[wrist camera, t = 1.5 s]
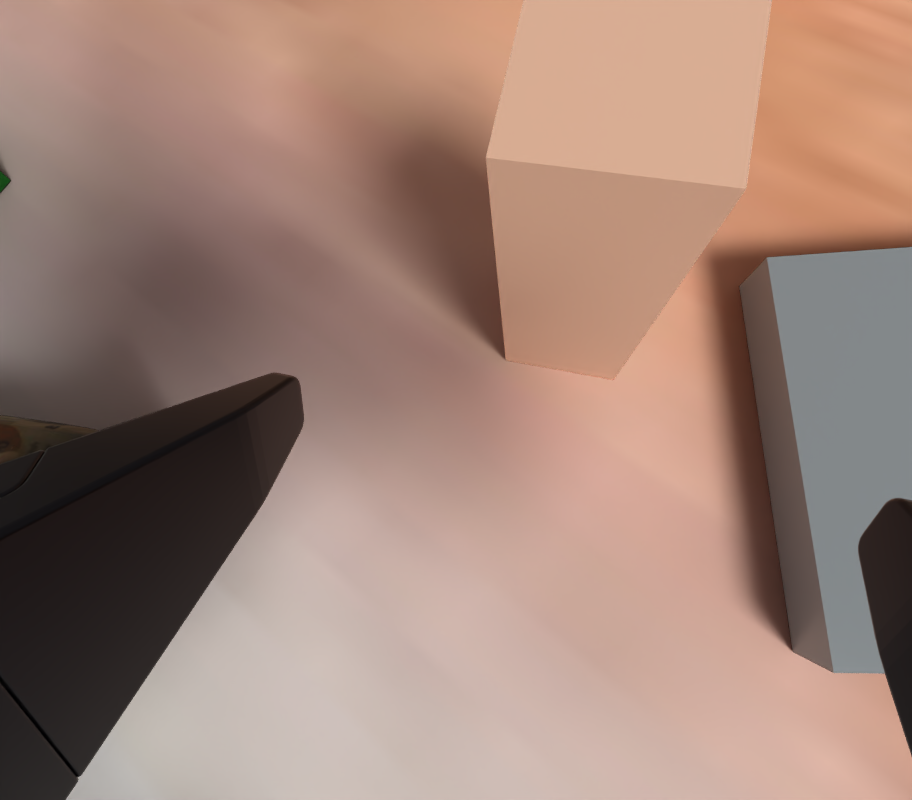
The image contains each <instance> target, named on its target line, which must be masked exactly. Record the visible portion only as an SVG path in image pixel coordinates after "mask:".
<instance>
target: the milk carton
mask: <svg viewBox="0 0 912 800" xmlns="http://www.w3.org/2000/svg"><path fill="white" fill-rule="evenodd" d="M9 182H10V179H9V178H8V177H6V176H5V175H4V174H3V173H2V172H1V171H0V192H1V191H2V190H3V189H4V188H5V186H6V185H7V184H8V183H9Z"/></svg>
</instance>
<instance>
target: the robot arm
mask: <svg viewBox="0 0 912 800" xmlns="http://www.w3.org/2000/svg"><path fill="white" fill-rule="evenodd" d="M303 422H304V413H303V404H302V396H301V387H300V383H299V380H298V379H297V378H296V377H294V376H290V375H285V374H281V373H270V374H267V375H264V376H261V377H258V378H255V379H252V380H249V381H246V382H243V383H240V384H237V385H234V386H231V387H228V388H225V389H222V390H219V391H216V392H213V393H210V394H207V395H204V396H201V397H198V398H195V399H192V400H189V401H186V402H183V403H181V404H178V405H175V406H172V407H169V408H166V409H163V410H160V411H157V412H154V413H151V414H148V415H145V416H142V417H139V418H136V419H133V420H130V421H127V422H124V423H121V424H118V425H115V426H112V427H109V428H106V429H103V430H100V431H97V432H94V433H91V434H88V435H85V436H82V437H79V438H76V439H73V440H70V441H67V442H64V443H61V444H58V445H55V446H52V447H49V448H48V449H47V450H46V451H43V450H40V451H37V452H34V453H31V454H28V455H25V456H22V457H19V458H16V459H13V460H10V461H7V462H4V463H1V464H0V800H66V798H67V797H68V795H69V794H70V792H71V791H72V789H73V788H74V786H75V785H76V783H77V782H78V777H79V776H81V775H82V774H83V772H84V771H85V769H86V768H87V766H88V765H89V763H90V762H91V760H92V759H93V757H94V756H95V754H96V753H97V751H98V750H99V748H100V747H101V745H102V744H103V742H104V741H105V739H106V738H107V736H108V735H109V733H110V732H111V730H112V729H113V727H114V726H115V724H116V723H117V721H118V720H119V718H120V717H121V715H122V714H123V712H124V711H125V709H126V708H127V706H128V705H129V703H130V702H131V700H132V699H133V697H134V696H135V694H136V693H137V691H138V690H139V688H140V687H141V685H142V684H143V682H144V681H145V679H146V678H147V676H148V675H149V673H150V672H151V670H152V669H153V667H154V666H155V665H156V663H157V662H158V660H159V659H160V657H161V656H162V654H163V653H164V651H165V650H166V648H167V647H168V645H169V644H170V642H171V641H172V639H173V638H174V636H175V635H176V633H177V632H178V630H179V629H180V627H181V626H182V624H183V623H184V621H185V620H186V618H187V617H188V615H189V614H190V612H191V611H192V609H193V608H194V606H195V605H196V603H197V602H198V600H199V599H200V597H201V596H202V594H203V593H204V591H205V590H206V588H207V587H208V585H209V584H210V582H211V581H212V579H213V578H214V576H215V575H216V573H217V572H218V570H219V569H220V567H221V566H222V564H223V563H224V561H225V560H226V558H227V557H228V555H229V554H230V552H231V551H232V549H233V548H234V546H235V545H236V543H237V542H238V540H239V539H240V537H241V536H242V534H243V533H244V531H245V530H246V528H247V527H248V525H249V524H250V522H251V521H252V519H253V518H254V517H255V515H256V513H257V512H258V510H259V509H260V507H261V506H262V504H263V502H264V501H265V499H266V497H267V495H268V494H269V492H270V490H271V488H272V486H273V484H274V482H275V480H276V478H277V476H278V474H279V473H280V471H281V469H282V467H283V465H284V463H285V461H286V459H287V457H288V455H289V453H290V451H291V449H292V447H293V445H294V443H295V442H296V440H297V438H298V436H299V434H300V432H301V430H302V427H303ZM858 555H859V560H860V565H861V570H862V575H863V580H864V585H865V590H866V595H867V600H868V605H869V610H870V615H871V620H872V625H873V630H874V635H875V639H876V643H877V647H878V652H879V655H880V659H881V662H882V666H883V669H884V672H885V675H886V678H887V682H888V685H889V688H890V691H891V694H892V697H893V700H894V703H895V706H896V709H897V712H898V715H899V719H900V722H901V725H902V728H903V731H904V734H905V737H906V740H907V743H908V746H909V749H910V752H911V756H912V500H908V499H903V498H893V499H891V500H889V501H887V502H886V503H885V504H884V506H883V507H882V508H881V510H880V511H879V512H878V514H877V515H876V516H875V518H874V519H873V520H872V522H871V523H870V524H869V526H868V527H867V528H866V530H865V531H864V533H863V534H862V536H861V537H860V540H859V544H858Z"/></svg>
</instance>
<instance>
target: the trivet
mask: <svg viewBox="0 0 912 800" xmlns="http://www.w3.org/2000/svg"><path fill="white" fill-rule="evenodd" d="M739 288H740V295H741V301H742V308H743V315H744V322H745V329H746V335H747V342H748V349H749V356H750V363H751V370H752V376H753V383H754V390H755V397H756V404H757V411H758V417H759V424H760V431H761V438H762V445H763V451H764V458H765V465H766V472H767V479H768V486H769V492H770V499H771V506H772V513H773V520H774V527H775V533H776V540H777V547H778V554H779V561H780V567H781V574H782V581H783V588H784V595H785V602H786V608H787V615H788V622H789V629H790V636H791V643H792V649H793V652H794V653H796V654H798V655H800V656H802V657H804V658H806V659H808V660H810V661H812V662H814V663H816V664H817V665H819V666H821V667H823V668H825V669H827V670H829V671H831V672H833V673H885V672H884V669H883V666H882V662H881V659H880V655H879V652H878V647H877V643H876V639H875V635H874V630H873V625H872V620H871V615H870V610H869V605H868V600H867V595H866V590H865V585H864V580H863V575H862V570H861V565H860V560H859V555H858V544H859V540H860V537H861V536H862V534H863V533H864V531H865V530H866V528H867V527H868V526H869V524H870V523H871V522H872V520H873V519H874V518H875V516H876V515H877V514H878V512H879V511H880V510H881V508H882V507H883V506H884V504H885V503H886V502H887V501H889V500H891V499H893V498H903V499H908V500H912V247H905V248H891V249H877V250H863V251H849V252H835V253H821V254H807V255H793V256H780V257H767V258H766V259H765V260H764V261H763V262H762V263H761V264H760V265H759V266H758V267H757V268H756V269H755V270H754V271H753V272H752V273H751V274H750V276H749V277H748V278H747V279H746V280H745V281H744V282H743V283H742V284H741V285H740V286H739Z"/></svg>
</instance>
